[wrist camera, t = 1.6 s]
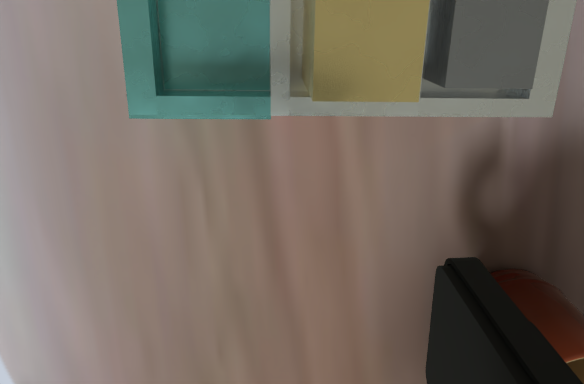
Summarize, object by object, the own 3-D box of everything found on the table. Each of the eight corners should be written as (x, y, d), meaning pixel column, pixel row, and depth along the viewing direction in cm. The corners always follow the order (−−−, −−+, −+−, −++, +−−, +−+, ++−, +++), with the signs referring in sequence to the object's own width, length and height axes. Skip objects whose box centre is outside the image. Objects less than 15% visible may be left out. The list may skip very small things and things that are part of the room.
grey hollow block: (515, -5, 26) (550, -8, 23) (501, 79, 28) (532, 89, 24) (433, -7, 26) (457, -9, 22) (424, 78, 27) (444, 88, 24)
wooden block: (387, -8, 26) (431, -14, 19) (380, 78, 27) (418, 102, 20) (303, -9, 25) (315, -16, 18) (301, 77, 27) (312, 101, 20)
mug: (584, 297, 35) (705, 407, 25) (495, 374, 37) (574, 502, 27) (472, 201, 32) (560, 285, 22) (382, 291, 34) (426, 403, 24)
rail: (551, -42, 26) (586, -49, 23) (523, 109, 29) (551, 120, 26) (129, -51, 25) (110, -59, 22) (144, 106, 28) (129, 118, 25)
